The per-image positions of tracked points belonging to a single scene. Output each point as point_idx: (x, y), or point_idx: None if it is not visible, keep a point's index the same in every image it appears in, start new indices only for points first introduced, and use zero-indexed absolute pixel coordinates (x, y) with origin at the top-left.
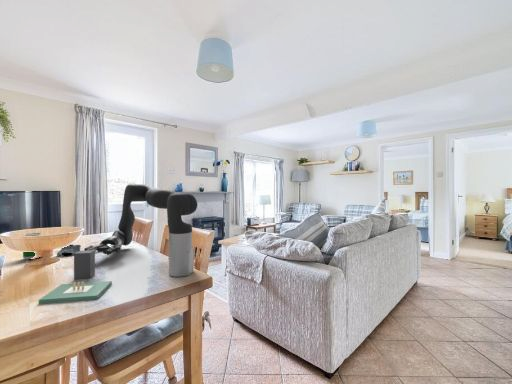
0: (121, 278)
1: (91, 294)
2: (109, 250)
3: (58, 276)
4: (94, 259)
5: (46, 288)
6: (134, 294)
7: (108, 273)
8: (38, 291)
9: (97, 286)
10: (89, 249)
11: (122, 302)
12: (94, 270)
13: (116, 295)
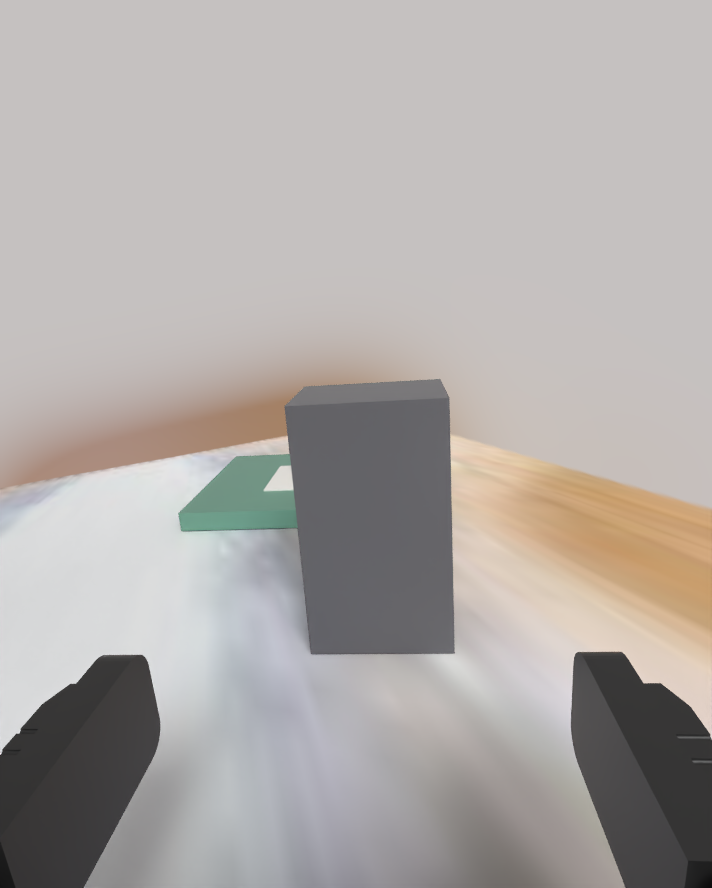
0: (111, 578)
1: (257, 459)
2: (74, 706)
3: (668, 663)
4: (297, 502)
5: (519, 524)
6: (111, 481)
7: (189, 665)
8: (529, 508)
9: (244, 486)
10: (685, 805)
11: (162, 460)
12: (308, 607)
13: (173, 479)
